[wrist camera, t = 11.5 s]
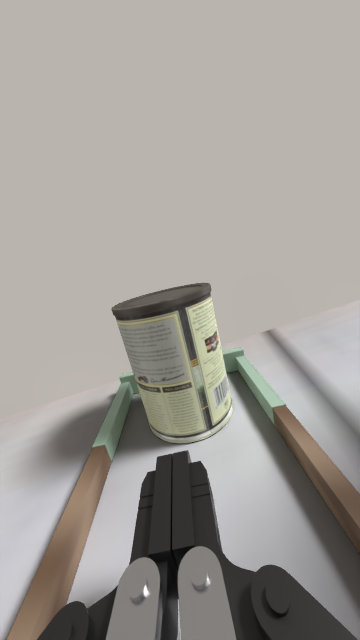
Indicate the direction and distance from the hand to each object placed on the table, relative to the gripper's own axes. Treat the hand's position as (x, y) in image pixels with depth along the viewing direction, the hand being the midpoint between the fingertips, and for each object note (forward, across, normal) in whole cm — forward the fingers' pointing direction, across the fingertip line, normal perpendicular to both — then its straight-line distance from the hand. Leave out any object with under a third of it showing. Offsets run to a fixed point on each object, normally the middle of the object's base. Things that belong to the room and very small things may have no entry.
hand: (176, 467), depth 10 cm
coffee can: (+14, 0, +7) cm, 15 cm away
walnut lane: (0, 0, +7) cm, 7 cm away
